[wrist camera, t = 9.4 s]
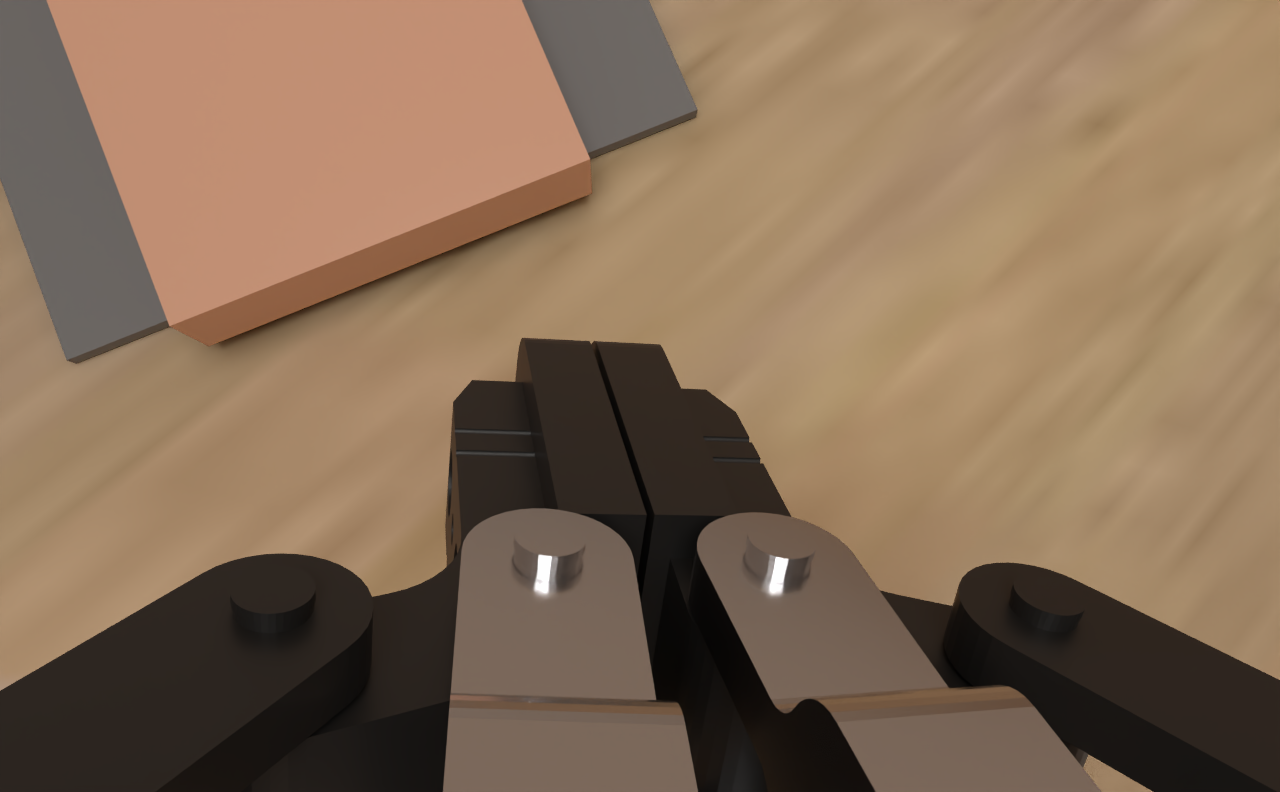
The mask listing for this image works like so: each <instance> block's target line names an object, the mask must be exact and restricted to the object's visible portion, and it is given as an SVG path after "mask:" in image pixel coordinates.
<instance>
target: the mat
mask: <svg viewBox="0 0 1280 792" xmlns="http://www.w3.org/2000/svg"><path fill="white" fill-rule="evenodd" d="M522 2H523V4H524V7H525V9H526V11H527V14H528V16H529V18H530V21H531V23H532V25H533V28H534V30H535V32H536V35H537V37H538V39H539V41H540V44H541V46H542V48H543V51H544V53H545V55H546V58H547V60H548V62H549V65H550V67H551V69H552V72H553V74H554V76H555V79H556V81H557V83H558V86H559V88H560V90H561V93H562V95H563V97H564V99H565V102H566V104H567V106H568V109H569V111H570V113H571V116H572V118H573V120H574V123H575V125H576V127H577V130H578V132H579V134H580V137H581V139H582V141H583V144H584V146H585V148H586V150H587V153H588V155H589V157H590V159H592V158H594V157H597V156H599V155H602V154H604V153H607V152H609V151H612V150H614V149H617V148H619V147H622V146H624V145H627V144H629V143H632V142H634V141H637V140H639V139H642V138H644V137H647V136H649V135H652V134H654V133H657V132H659V131H662V130H664V129H667V128H669V127H672V126H675V125H677V124H680V123H682V122H685V121H687V120H690V119H692V118H695V117H696V114H697V108H696V105H695V103H694V101H693V99H692V96H691V94H690V92H689V90H688V87H687V85H686V83H685V81H684V78H683V76H682V74H681V72H680V69H679V67H678V65H677V63H676V60H675V58H674V56H673V54H672V51H671V49H670V47H669V45H668V43H667V40H666V38H665V36H664V34H663V31H662V29H661V27H660V25H659V22H658V20H657V18H656V16H655V13H654V11H653V9H652V7H651V4H650V2H649V0H522ZM0 179H1V182H2V185H3V187H4V190H5V193H6V196H7V198H8V201H9V204H10V207H11V209H12V212H13V215H14V218H15V220H16V223H17V226H18V228H19V231H20V234H21V237H22V239H23V242H24V245H25V248H26V250H27V253H28V256H29V259H30V261H31V264H32V267H33V269H34V272H35V275H36V278H37V280H38V283H39V286H40V289H41V291H42V294H43V297H44V300H45V302H46V305H47V308H48V310H49V313H50V316H51V319H52V321H53V324H54V327H55V330H56V332H57V335H58V338H59V341H60V343H61V346H62V349H63V351H64V354H65V357H66V360H68V361H70V362H73V363H79V362H81V361H84V360H86V359H89V358H91V357H94V356H96V355H99V354H101V353H104V352H106V351H109V350H111V349H114V348H116V347H119V346H121V345H124V344H127V343H129V342H132V341H134V340H137V339H139V338H142V337H144V336H147V335H149V334H152V333H154V332H157V331H159V330H162V329H164V328H167V327H169V324H168V321H167V318H166V316H165V313H164V310H163V308H162V305H161V302H160V300H159V297H158V294H157V292H156V289H155V286H154V284H153V281H152V279H151V276H150V273H149V271H148V268H147V265H146V263H145V260H144V257H143V255H142V252H141V249H140V247H139V244H138V241H137V239H136V236H135V234H134V231H133V228H132V226H131V223H130V220H129V218H128V215H127V212H126V210H125V207H124V204H123V202H122V199H121V196H120V194H119V191H118V188H117V186H116V183H115V181H114V178H113V175H112V173H111V170H110V167H109V165H108V162H107V159H106V157H105V154H104V151H103V149H102V146H101V143H100V141H99V138H98V136H97V133H96V130H95V128H94V125H93V122H92V120H91V117H90V114H89V112H88V109H87V106H86V104H85V101H84V98H83V96H82V93H81V91H80V88H79V85H78V83H77V80H76V77H75V75H74V72H73V69H72V67H71V64H70V61H69V59H68V56H67V53H66V51H65V48H64V45H63V43H62V40H61V38H60V35H59V32H58V30H57V27H56V24H55V22H54V19H53V16H52V14H51V11H50V8H49V6H48V3H47V0H0Z"/></svg>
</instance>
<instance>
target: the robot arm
mask: <svg viewBox="0 0 1280 792" xmlns="http://www.w3.org/2000/svg"><path fill="white" fill-rule="evenodd" d="M445 528H446V555H447V567H446V568H445V569H444V570H443V571H441V572H440V573H439V574H437V575H436V576H434V577H433V578H431V579H429V580H427V581H425V582H423V583H421V584H419V585H416V586H413V587H411V588H408V589H405V590H401V591H397V592H393V593H389V594H385V595H380V596H375V597H372V596H371V594H370V592H369V589H368V587H367V586H366V585H365V584H364V582H363V581H362V580H361V579H360V578H359V577H358V576H356V575H355V574H354V573H353V572H351V571H350V570H348V569H346V568H344V567H343V566H341V565H338V564H336V563H333V562H331V561H328V560H325V559H321V558H317V557H313V556H306V555H299V554H264V555H257V556H251V557H245V558H241V559H237V560H233V561H230V562H227V563H224V564H222V565H219V566H216V567H214V568H212V569H210V570H208V571H206V572H204V573H202V574H201V575H199V576H197V577H195V578H194V579H192V580H190V581H188V582H187V583H185V584H183V585H182V586H180V587H178V588H176V589H175V590H173V591H171V592H170V593H168V594H166V595H164V596H163V597H161V598H159V599H158V600H156V601H154V602H152V603H151V604H149V605H147V606H145V607H144V608H142V609H140V610H139V611H137V612H135V613H133V614H132V615H130V616H128V617H127V618H125V619H123V620H121V621H120V622H118V623H116V624H115V625H113V626H111V627H109V628H108V629H106V630H104V631H102V632H101V633H99V634H97V635H96V636H94V637H92V638H90V639H89V640H87V641H85V642H84V643H82V644H80V645H78V646H77V647H75V648H73V649H72V650H70V651H68V652H66V653H65V654H63V655H61V656H59V657H58V658H56V659H54V660H53V661H51V662H49V663H47V664H46V665H44V666H42V667H41V668H39V669H37V670H35V671H34V672H32V673H30V674H29V675H27V676H25V677H23V678H22V679H20V680H18V681H16V682H15V683H13V684H11V685H10V686H8V687H6V688H4V689H3V690H1V691H0V792H1101V790H1100V789H1099V788H1098V787H1097V785H1096V784H1095V783H1094V781H1093V780H1092V779H1091V778H1090V776H1089V775H1088V774H1087V773H1086V771H1085V770H1084V769H1083V767H1084V764H1085V762H1086V759H1087V757H1088V754H1089V755H1091V756H1093V757H1094V758H1096V759H1098V760H1100V761H1101V762H1103V763H1105V764H1106V765H1108V766H1110V767H1112V768H1113V769H1115V770H1117V771H1119V772H1120V773H1122V774H1124V775H1126V776H1127V777H1129V778H1131V779H1132V780H1134V781H1136V782H1138V783H1139V784H1141V785H1143V786H1145V787H1146V788H1148V789H1150V790H1152V791H1153V792H1280V680H1278V679H1276V678H1274V677H1272V676H1270V675H1268V674H1266V673H1264V672H1262V671H1260V670H1258V669H1256V668H1254V667H1252V666H1250V665H1248V664H1245V663H1243V662H1241V661H1239V660H1237V659H1235V658H1233V657H1231V656H1229V655H1227V654H1225V653H1223V652H1221V651H1219V650H1217V649H1215V648H1213V647H1211V646H1209V645H1207V644H1205V643H1203V642H1201V641H1199V640H1197V639H1195V638H1192V637H1190V636H1188V635H1186V634H1184V633H1182V632H1180V631H1178V630H1176V629H1174V628H1172V627H1170V626H1168V625H1166V624H1164V623H1162V622H1160V621H1158V620H1156V619H1154V618H1152V617H1150V616H1148V615H1146V614H1144V613H1141V612H1139V611H1137V610H1135V609H1133V608H1131V607H1129V606H1127V605H1125V604H1123V603H1121V602H1119V601H1117V600H1115V599H1113V598H1111V597H1109V596H1107V595H1105V594H1103V593H1101V592H1099V591H1097V590H1095V589H1093V588H1091V587H1088V586H1086V585H1084V584H1082V583H1080V582H1078V581H1076V580H1074V579H1072V578H1069V577H1067V576H1065V575H1062V574H1059V573H1057V572H1054V571H1051V570H1048V569H1044V568H1040V567H1036V566H1031V565H1025V564H1018V563H993V564H986V565H982V566H979V567H976V568H974V569H972V570H971V571H969V572H968V573H967V574H966V575H965V576H964V577H963V578H962V580H961V582H960V584H959V587H958V590H957V594H956V597H955V600H954V604H953V606H949V605H944V604H939V603H934V602H930V601H925V600H920V599H915V598H910V597H906V596H901V595H896V594H892V593H888V592H884V591H880V590H879V589H878V588H877V586H876V585H875V583H874V582H873V581H872V579H871V578H870V576H869V575H868V573H867V572H866V571H865V569H864V568H863V566H862V565H861V564H860V562H859V561H858V559H857V558H856V557H855V555H854V554H853V553H852V551H851V550H850V549H849V548H848V547H847V546H846V545H845V544H844V543H843V542H842V541H840V540H839V539H838V538H837V537H835V536H834V535H832V534H831V533H829V532H827V531H825V530H823V529H822V528H820V527H818V526H815V525H813V524H811V523H808V522H806V521H803V520H799V519H796V518H793V517H791V515H790V513H789V511H788V510H787V508H786V506H785V504H784V502H783V500H782V498H781V496H780V494H779V493H778V491H777V489H776V487H775V485H774V483H773V481H772V479H771V478H770V476H769V474H768V472H767V470H766V468H765V466H764V464H760V457H759V455H758V453H757V451H756V449H755V447H754V445H753V444H752V443H751V442H749V436H748V434H747V432H746V430H745V429H744V427H743V425H742V423H741V421H740V419H739V417H738V415H737V413H736V412H735V411H733V410H732V409H731V408H729V407H728V406H727V405H726V404H724V403H723V402H722V401H720V400H719V399H718V398H716V397H715V396H714V395H712V394H711V393H710V392H708V391H707V390H700V389H681V387H680V385H679V383H678V381H677V379H676V376H675V374H674V372H673V370H672V368H671V366H670V363H669V361H668V359H667V357H666V355H665V352H664V350H663V348H662V347H661V345H659V344H639V343H618V342H598V341H594V342H593V343H592V345H591V343H590V342H589V341H574V340H554V339H534V338H522V339H521V342H520V346H519V352H518V360H517V370H516V381H515V382H503V381H479V380H472V381H471V382H470V383H469V385H468V386H467V387H466V388H465V389H464V390H463V391H462V393H461V394H460V395H459V396H458V397H457V398H456V400H455V401H454V402H453V415H452V431H451V446H450V462H449V477H448V493H447V508H446V524H445Z"/></svg>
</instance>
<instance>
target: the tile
mask: <svg viewBox="0 0 1280 792" xmlns="http://www.w3.org/2000/svg"><path fill="white" fill-rule="evenodd" d="M47 3H48V6H49V8H50V11H51V14H52V16H53V19H54V22H55V24H56V27H57V30H58V32H59V35H60V38H61V40H62V43H63V45H64V48H65V51H66V53H67V56H68V59H69V61H70V64H71V67H72V69H73V72H74V75H75V77H76V80H77V83H78V85H79V88H80V91H81V93H82V96H83V98H84V101H85V104H86V106H87V109H88V112H89V114H90V117H91V120H92V122H93V125H94V128H95V130H96V133H97V136H98V138H99V141H100V143H101V146H102V149H103V151H104V154H105V157H106V159H107V162H108V165H109V167H110V170H111V173H112V175H113V178H114V181H115V183H116V186H117V188H118V191H119V194H120V196H121V199H122V202H123V204H124V207H125V210H126V212H127V215H128V218H129V220H130V223H131V226H132V228H133V231H134V234H135V236H136V239H137V241H138V244H139V247H140V249H141V252H142V255H143V257H144V260H145V263H146V265H147V268H148V271H149V273H150V276H151V279H152V281H153V284H154V286H155V289H156V292H157V294H158V297H159V300H160V302H161V305H162V308H163V310H164V313H165V316H166V318H167V321H168V324H169V326H170V327H172V328H174V329H176V330H178V331H180V332H182V333H184V334H186V335H188V336H190V337H192V338H194V339H196V340H198V341H200V342H202V343H204V344H206V345H207V346H211V345H213V344H216V343H218V342H221V341H223V340H226V339H228V338H231V337H233V336H236V335H238V334H241V333H243V332H246V331H248V330H251V329H253V328H256V327H258V326H261V325H263V324H266V323H268V322H271V321H273V320H276V319H278V318H281V317H283V316H286V315H288V314H291V313H293V312H296V311H298V310H301V309H303V308H306V307H308V306H311V305H313V304H316V303H318V302H321V301H323V300H326V299H328V298H331V297H333V296H336V295H338V294H341V293H344V292H346V291H349V290H351V289H354V288H356V287H359V286H361V285H364V284H366V283H369V282H371V281H374V280H376V279H379V278H381V277H384V276H386V275H389V274H391V273H394V272H396V271H399V270H401V269H404V268H406V267H409V266H411V265H414V264H416V263H419V262H421V261H424V260H426V259H429V258H431V257H434V256H436V255H439V254H441V253H444V252H446V251H449V250H451V249H454V248H456V247H459V246H461V245H464V244H466V243H469V242H471V241H474V240H476V239H479V238H481V237H484V236H486V235H489V234H491V233H494V232H496V231H499V230H501V229H504V228H506V227H509V226H511V225H514V224H516V223H519V222H521V221H524V220H526V219H529V218H531V217H534V216H536V215H539V214H541V213H544V212H546V211H549V210H551V209H554V208H556V207H559V206H561V205H564V204H566V203H569V202H571V201H574V200H576V199H579V198H581V197H584V196H586V195H589V194H591V193H592V184H591V165H590V157H589V155H588V153H587V150H586V148H585V146H584V144H583V141H582V139H581V137H580V134H579V132H578V130H577V127H576V125H575V123H574V120H573V118H572V116H571V113H570V111H569V109H568V106H567V104H566V102H565V99H564V97H563V95H562V93H561V90H560V88H559V86H558V83H557V81H556V79H555V76H554V74H553V72H552V69H551V67H550V65H549V62H548V60H547V58H546V55H545V53H544V51H543V48H542V46H541V44H540V41H539V39H538V37H537V35H536V32H535V30H534V28H533V25H532V23H531V21H530V18H529V16H528V14H527V11H526V9H525V7H524V4H523V2H522V0H47Z"/></svg>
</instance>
